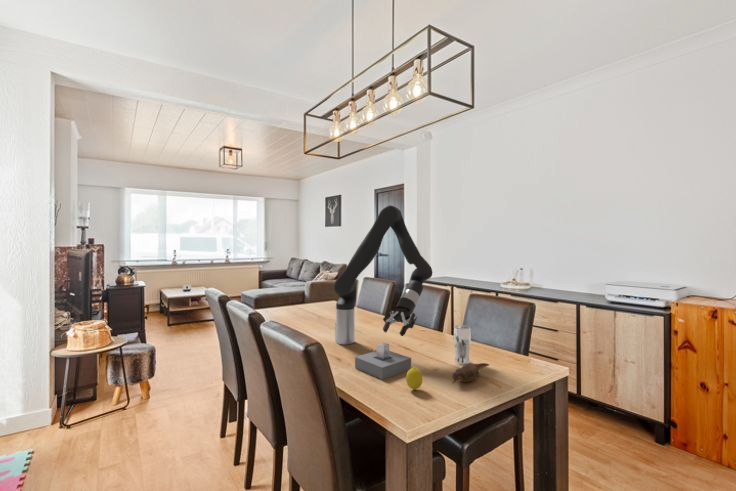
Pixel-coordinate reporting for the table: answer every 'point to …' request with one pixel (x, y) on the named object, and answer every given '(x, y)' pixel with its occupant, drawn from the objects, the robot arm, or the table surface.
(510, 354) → the table surface
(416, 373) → the lemon
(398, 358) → the well block
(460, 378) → the bird sculpture
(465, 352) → the beer glass
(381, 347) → the steel bar
